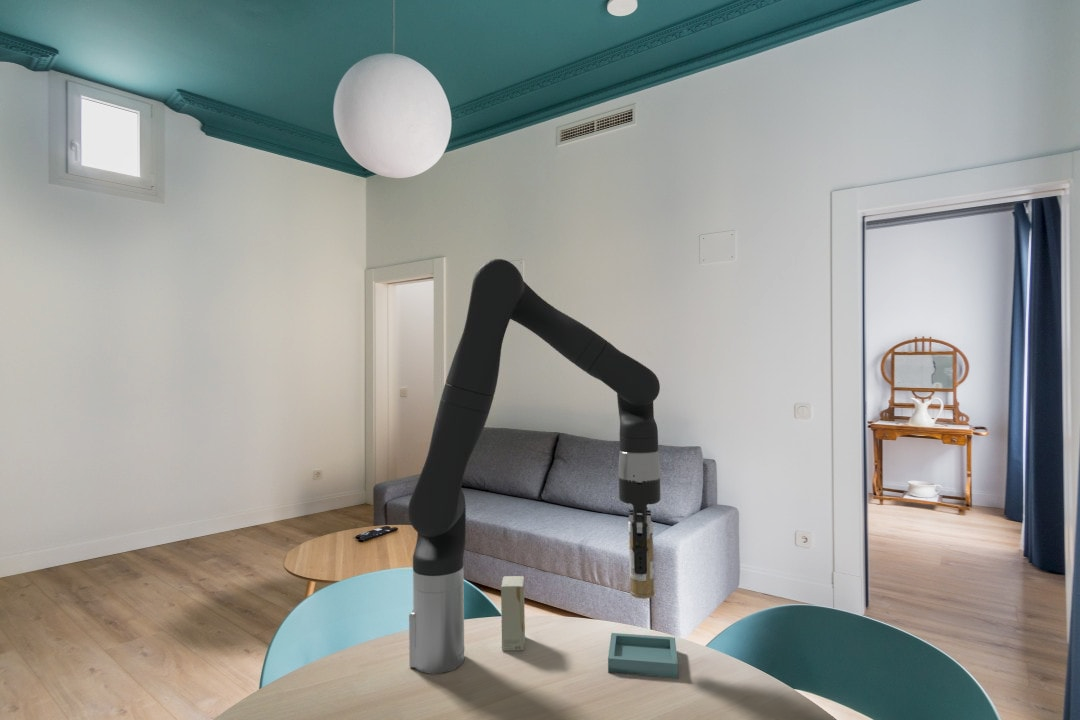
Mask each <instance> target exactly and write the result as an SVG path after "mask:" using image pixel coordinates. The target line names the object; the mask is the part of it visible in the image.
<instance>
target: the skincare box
mask: <svg viewBox="0 0 1080 720" xmlns="http://www.w3.org/2000/svg"><path fill="white" fill-rule="evenodd" d="M500 596H501V597H500V601H501V602H500V605H501V606H500V607H501V613H500V615H501V650H502V651H524V650H525V649H524V648H525V642H526V627H525V626H526V625H525V624H526V623H525V619H526V617H525V615H526V614H525V576H523V575H512V576H511V575H507V576H505V575H504V576H503V577H502V581H501V585H500Z"/></svg>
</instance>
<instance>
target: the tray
mask: <svg viewBox="0 0 1080 720" xmlns="http://www.w3.org/2000/svg"><path fill="white" fill-rule="evenodd" d="M673 637H674V638H673ZM608 647H609V649H608V656H607V673H610V674H621V675H632V676H645V677H656V678H657V677H658V678H668V679H679V664H678V662H679V661H678V652H677V643H676V637H675V636H660V635H647V634H635V633H634V634H631V633H617V632H611V634H610V641H609V646H608Z"/></svg>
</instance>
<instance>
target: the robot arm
mask: <svg viewBox="0 0 1080 720" xmlns="http://www.w3.org/2000/svg"><path fill="white" fill-rule="evenodd" d="M510 321H514V323H516V324H517V323H518V324H519V325H521V326H522V327H524V328H526V329H527V330H528V331H530V332H531V333H533V334H535V335H536V336H537V337H539V338H541V339H542V340H543V341H544V342H546V343H547V344H548V345H549V346H551V347H552V348H553V350H555V351H557V352H558V353H559V354H560V355H562V356H563V358H566V359H567V360H568V361H569V362H571V363H572V364H574V365H575V366H576V367H578V368H579V369H581V370H582V371H583V372H585V373H586V374H588V375H590V376H591V377H593V378H594V379H597V380H599V381H601V382H602V383H603V384H605V385H606V386H607V387H609V388H610V389H612V391H614V392H615V393H616V397H617V399H616V400H617V408H618V409H617V410H618V415H619V434H618V435H619V457H618V499H619V501H620V502H621V503H624V504H627V505H628V504H629V505H630V504H631V505H632V506H633V508H632V509H629V510H628V511H629V512H628V522H630V535H629V536H631V538H632V539H633V547H632V550H633V552H634V571H635V573H636V574H646V573H647V551H648V548H647V540H648V539H649V538H650V523H651V521H652V511H651V509H648V506H647V505H655V504H658V503H659V502H660V500H661V462H660V456H659V435H658V434H659V430H658V426H657V425H658V424H657V422H656V420H655V417H654V412H655V411H654V401H655V400H657V397H658V396H659V394H660V387H661V386H660V385H661V384H660V380H659V378H658V377H657V375H656V373H654V372H653V371H652V370H651V369H650V368H648V367H647V366H645V365H644V364H643V363H642V362H639V361H638V360H636V359H634V358H633V357H631V356H629V355H628V354H626V353H624V352H622V351H621V350H619V349H618V348H616V347H615V346H614V345H613V344H612V343H611V342H609V341H608V340H606V339H605V338H604V337H602V336H601V335H599V334H598V333H597V332H595V331H594V330H592V329H591V328H589V327H588V326H586V325H585V324H583V323H581V322H580V321H578V320H576V319H575V318H573V317H571V316H569V315H568V314H566V313H564V312H562V311H561V310H559V309H558V308H556V307H554V306H553V305H551V304H550V303H549V302H547V301H546V299H544V298H542V297H541V296H540V295H539V294H537V293H536V292H535V291H534V290H533V289H532V288H531V286H529V285H528V284H527V283H526V282H525V281H524V279H523V276H522V273H521V272H520V271H519V269H518V268H517V267H516V265H514V264H513V263H511V262H510V261H508V260H506V259H502V258H494V259H491V260H489V261H486V262H485V263H484V264H482V265H481V266H480V267H479V268H478V269H477V271H476V272H475V274H474V277H473V279H472V285H471V292H470V298H469V304H468V309H467V314H466V319H465V323H464V328H463V331H462V335H461V338H460V340H459V343H458V345H457V347H456V350H455V353H454V356H453V358H452V361H451V364H450V366H449V367H450V368H449V370H448V374H447V376H446V380H445V383H444V387H443V389H442V393H441V396H440V397H441V398H440V400H439V404H438V409H437V413H436V417H435V421H434V424H433V429H432V434H431V438H430V439H431V440H430V443H429V448H428V452H427V456H426V458H425V462H424V464H423V467H422V470H421V472H420V475H419V477H418V480H417V482H416V484H415V487H414V489H413V492H412V494H411V497H410V498H409V502H408V508H407V513H408V520H409V522H410V525H411V527H412V528H413V530H414V531H416V532H417V537H416V538H417V539H416V544H415V548H414V551H413V554H412V586H413V587H412V588H413V589H412V590H413V592H412V595H413V596H412V597H413V598H412V601H413V602H412V603H413V604H412V605H413V607H412V610H411V612H410V613H409V615H408V629H409V630H408V631H409V632H408V639H409V641H408V642H409V646H408V650H409V653H408V655H409V662H408V663H409V668H414V669H416V670H417V671H419V672H422V673H425V674H442V673H447V672H450V671H453V670H456V669H458V668H459V667H460V666H461V665H462V664H463V663H464V661H465V607H464V606H465V599H464V598H465V597H464V596H465V595H464V594H465V592H464V591H465V587H464V583H465V582H464V581H465V580H464V576H465V575H464V557H465V556H464V555H465V548H466V533H467V531H466V520H467V517H466V516H467V515H466V514H467V512H466V511H467V510H466V509H467V508H466V507H467V506H466V498H465V494H464V491H463V489H462V485H463V481H464V477H465V472H466V469H467V465H468V464H469V463H468V462H470V461H469V460H470V458H471V455H472V454H473V452H474V449H476V446H477V443H478V441H479V440H480V437H481V436H482V432H483V430H484V427H485V426H486V423H487V420H488V417H489V414H490V411H491V408H492V404H493V400H494V398H495V394H496V389H497V386H498V385H497V384H498V378H499V373H500V363H501V356H502V355H501V354H502V347H503V343H504V338H505V334H506V332H507V329H508V326H509V323H510ZM646 521H647V522H646ZM637 541H638V542H644V546H643V545H636V542H637Z"/></svg>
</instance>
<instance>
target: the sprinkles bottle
mask: <svg viewBox="0 0 1080 720" xmlns="http://www.w3.org/2000/svg"><path fill="white" fill-rule="evenodd" d="M646 522H647V521H646ZM627 528H628V533H629V534H628V535H629V538H628V539H629V542H628V544H629V545H628V546H629V547H628V549H629V551H628V552H629V553H628V554H629V556H628V557H629V561H628V562H629V563H628V564H629V579H630V580H629V582H630V583H629V584H630V587H629V588H630V589H629V593H630V595H631V596H632V597H634V598H635V599H644V600H645V599H651V598H653V597H654V596H655V585H654V576H655V575H654V574H655V572H654V566H655V565H654V550H653V546H654V545H653V535H654V522H653V521H652V520H651V523H650V538H649V539H648V540H647V548H648V551H647V573H646V574H636V573H635V571H634V552H633V550H632V547H633V539H632V538H631V536H630V522H629V521H628V525H627ZM636 545H643V546H644V542H638V541H637V542H636Z"/></svg>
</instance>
